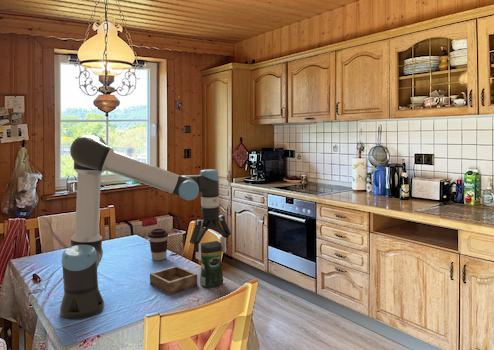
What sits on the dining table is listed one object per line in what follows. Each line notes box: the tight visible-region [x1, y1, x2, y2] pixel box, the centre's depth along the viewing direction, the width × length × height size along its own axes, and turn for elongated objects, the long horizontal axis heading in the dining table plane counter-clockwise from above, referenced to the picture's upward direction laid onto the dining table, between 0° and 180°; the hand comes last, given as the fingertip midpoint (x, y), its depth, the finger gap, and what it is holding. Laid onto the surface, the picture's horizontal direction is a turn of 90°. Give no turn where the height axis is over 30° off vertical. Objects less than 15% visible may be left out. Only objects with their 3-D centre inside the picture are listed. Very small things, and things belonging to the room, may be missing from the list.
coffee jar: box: [199, 240, 224, 288], centre depth 177 cm, size 10×8×19 cm
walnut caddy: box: [149, 265, 198, 296], centre depth 177 cm, size 14×15×5 cm
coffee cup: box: [147, 228, 169, 261], centre depth 212 cm, size 10×10×15 cm
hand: (211, 255), depth 176 cm, fingers open, 13 cm apart
